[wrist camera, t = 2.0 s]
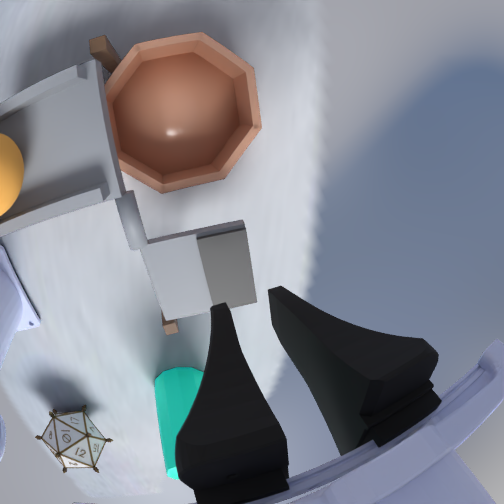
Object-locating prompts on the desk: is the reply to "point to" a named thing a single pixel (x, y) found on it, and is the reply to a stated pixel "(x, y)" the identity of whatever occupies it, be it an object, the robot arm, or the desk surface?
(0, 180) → the ball
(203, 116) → the bowl
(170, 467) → the candle
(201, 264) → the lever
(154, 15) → the desk surface
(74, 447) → the game die
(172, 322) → the lever stand
